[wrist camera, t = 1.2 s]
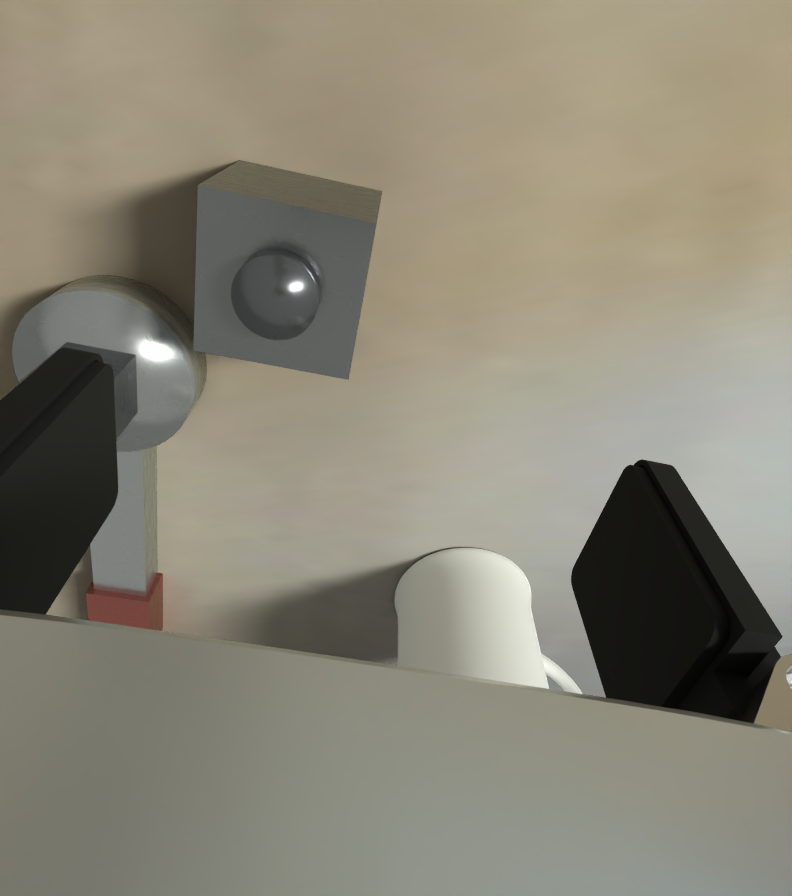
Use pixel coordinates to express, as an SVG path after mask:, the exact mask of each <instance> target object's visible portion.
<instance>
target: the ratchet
mask: <svg viewBox="0 0 792 896" xmlns="http://www.w3.org/2000/svg"><path fill="white" fill-rule="evenodd" d="M193 343H194V326H193V325H192V323H191V322H190V320H189V319H188V318H187V317H186V315H185V314H184V313H183V312H182V311H181V310H180V309H179V308H178V307H177V306H176V305H175V304H174V303H173V302H172V301H171V300H169V299H168V298H167V297H166V296H164V295H163V294H161V293H160V292H158V291H157V290H155V289H153V288H151V287H149V286H147V285H145V284H143V283H140V282H137V281H135V280H132V279H128V278H124V277H119V276H111V275H97V276H89V277H85V278H81V279H78V280H75V281H73V282H71V283H69V284H67V285H66V286H64V287H63V288H61V289H60V290H58V291H57V292H55V293H54V294H52V295H50V296H49V297H47V298H46V299H44V300H43V301H41V302H40V303H38V304H37V305H35V306H34V307H32V308H31V309H30V310H29V311H28V312H27V313H26V314H25V316H24V317H23V318H22V320H21V321H20V323H19V325H18V327H17V329H16V331H15V335H14V339H13V345H12V359H13V365H14V370H15V374H16V376H17V379H18V382H19V384H20V383H21V382H22V381H23V380H25V379H26V378H27V377H28V376H29V375H30V374H32V373H33V372H34V371H35V370H36V369H37V368H38V367H40V366H41V365H42V364H43V363H44V362H45V361H47V360H48V359H49V358H50V357H51V356H52V355H53V354H55V353H56V352H57V351H58V350H59V349H61V348H63V347H65V348H71V349H76V350H81V351H86V352H91V353H97V354H99V355H100V356H101V357H102V359H103V363H104V364H109V365H111V366H112V369H113V374H114V397H115V420H116V444H117V467H118V495H117V499H116V503H115V505H114V507H113V509H112V511H111V512H110V514H109V515H108V517H107V519H106V520H105V522H104V523H103V525H102V526H101V528H100V530H99V531H98V533H97V534H96V536H95V537H94V539H93V541H92V542H91V544H90V549H91V561H92V572H93V582H92V583H91V585H90V587H89V588H88V590H87V592H86V602H87V612H88V621H95V622H103V623H110V624H117V625H124V626H131V627H138V628H145V629H152V630H159V631H162V628H163V574H162V573H158V560H157V445H159V444H161V443H163V442H165V441H166V440H168V439H169V438H170V437H172V436H173V435H174V434H175V433H176V432H177V431H178V430H179V429H180V427H181V426H182V424H183V423H184V421H185V420H186V418H187V417H188V415H189V413H190V412H191V410H192V409H193V407H194V405H195V404H196V402H197V400H198V399H199V397H200V395H201V393H202V391H203V388H204V385H205V381H206V373H207V364H206V356H205V353H204V352H199V351H194V350H193Z"/></svg>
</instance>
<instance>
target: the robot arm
mask: <svg viewBox="0 0 792 896" xmlns="http://www.w3.org/2000/svg"><path fill="white" fill-rule="evenodd" d="M117 495H118V467H117V444H116V420H115V397H114V374H113V369H112V366H111V365H109V364H104V363H103V359H102V357H101V356H100V355H99V354H97V353H91V352H86V351H81V350H76V349H71V348H65V347H63V348H61V349H59V350H58V351H57V352H56V353H55V354H53V355H52V356H51V357H50V358H49V359H48V360H47V361H45V362H44V363H43V364H42V365H41V366H40V367H38V368H37V369H36V370H35V371H34V372H33V373H32V374H30V375H29V376H28V377H27V378H26V379H25V380H23V381H22V382H21V383H20V384H19V385H18V386H17V387H15V388H14V389H13V390H12V391H11V392H10V393H9V394H7V395H6V396H5V397H4V398H3V399H2V400H0V896H792V654H789V655H785V656H782V657H781V656H780V655H779V653H778V652H777V650H776V648H775V647H774V646H775V645H776V644H777V643H778V642H779V640H780V639H781V638H782V635H781V633H780V632H779V630H778V629H777V627H776V626H775V624H774V622H773V621H772V619H771V618H770V616H769V615H768V613H767V611H766V610H765V608H764V607H763V605H762V604H761V602H760V601H759V599H758V597H757V596H756V594H755V593H754V591H753V590H752V588H751V586H750V585H749V583H748V582H747V580H746V579H745V577H744V576H743V574H742V572H741V571H740V569H739V568H738V566H737V565H736V563H735V561H734V560H733V558H732V557H731V555H730V554H729V552H728V551H727V549H726V547H725V546H724V544H723V543H722V541H721V540H720V538H719V536H718V535H717V533H716V532H715V530H714V529H713V527H712V525H711V524H710V522H709V521H708V519H707V518H706V516H705V515H704V513H703V511H702V510H701V508H700V507H699V505H698V504H697V502H696V500H695V499H694V497H693V496H692V494H691V493H690V491H689V490H688V488H687V486H686V485H685V483H684V482H683V480H682V479H681V477H680V475H679V474H678V472H677V471H676V469H675V468H674V467H673V466H671V465H667V464H662V463H657V462H652V461H647V460H639V461H637V462H636V463H635V464H634V466H633V465H629V466H627V467H626V468H625V469H624V470H623V472H622V474H621V476H620V478H619V480H618V482H617V484H616V486H615V487H614V489H613V491H612V493H611V495H610V497H609V499H608V501H607V503H606V505H605V507H604V509H603V511H602V513H601V515H600V517H599V519H598V520H597V522H596V524H595V526H594V528H593V530H592V532H591V534H590V536H589V538H588V540H587V542H586V544H585V546H584V548H583V550H582V552H581V553H580V555H579V557H578V559H577V561H576V563H575V565H574V567H573V570H572V576H571V583H572V588H573V591H574V594H575V598H576V601H577V604H578V607H579V611H580V614H581V617H582V620H583V624H584V627H585V630H586V633H587V637H588V640H589V643H590V646H591V650H592V653H593V656H594V659H595V663H596V666H597V669H598V672H599V676H600V679H601V682H602V685H603V689H604V692H605V695H606V698H604V697H597V696H592V695H585V694H579V693H572V692H566V691H560V690H553V689H547V688H540V687H534V686H528V685H521V684H515V683H508V682H502V681H495V680H489V679H483V678H476V677H470V676H463V675H456V674H450V673H443V672H437V671H430V670H423V669H417V668H410V667H404V666H397V665H390V664H384V663H377V662H370V661H364V660H357V659H350V658H343V657H337V656H330V655H323V654H317V653H310V652H303V651H297V650H290V649H283V648H276V647H269V646H262V645H255V644H249V643H242V642H235V641H228V640H221V639H214V638H207V637H200V636H193V635H186V634H179V633H173V632H166V631H159V630H152V629H145V628H138V627H131V626H124V625H117V624H110V623H103V622H95V621H88V620H81V619H74V618H67V617H59V616H52V615H45V614H46V613H47V611H48V610H49V608H50V606H51V605H52V603H53V602H54V600H55V599H56V597H57V595H58V594H59V592H60V591H61V589H62V588H63V586H64V584H65V583H66V581H67V580H68V578H69V577H70V575H71V573H72V572H73V570H74V569H75V567H76V566H77V564H78V563H79V561H80V559H81V558H82V556H83V555H84V553H85V552H86V550H87V548H88V547H89V545H90V544H91V542H92V541H93V539H94V537H95V536H96V534H97V533H98V531H99V530H100V528H101V526H102V525H103V523H104V522H105V520H106V519H107V517H108V515H109V514H110V512H111V511H112V509H113V507H114V505H115V503H116V499H117Z"/></svg>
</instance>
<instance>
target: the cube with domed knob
mask: <svg viewBox="0 0 792 896" xmlns="http://www.w3.org/2000/svg"><path fill="white" fill-rule="evenodd" d="M381 195H382V191H378V190H373V189H369V188H364V187H359V186H355V185H350V184H346V183H341V182H337V181H332V180H327V179H323V178H318V177H314V176H309V175H305V174H300V173H295V172H291V171H286V170H282V169H277V168H273V167H268V166H263V165H259V164H254V163H250V162H245V161H241V160H239V161H237V162H236V163H234V164H232V165H231V166H229V167H227V168H226V169H224V170H222V171H221V172H219V173H217V174H216V175H214V176H212V177H210V178H209V179H207V180H205V181H204V182H202V183H200V184H199V185H198V193H197V231H196V268H195V306H194V343H193V350H194V351H199V352H204V353H210V354H215V355H220V356H226V357H231V358H236V359H241V360H247V361H252V362H257V363H263V364H268V365H273V366H279V367H284V368H289V369H295V370H300V371H305V372H311V373H316V374H321V375H326V376H332V377H337V378H342V379H349V373H350V368H351V362H352V357H353V351H354V346H355V340H356V335H357V329H358V324H359V318H360V313H361V307H362V301H363V296H364V290H365V285H366V279H367V273H368V268H369V262H370V257H371V251H372V245H373V240H374V234H375V228H376V223H377V217H378V212H379V206H380V200H381Z"/></svg>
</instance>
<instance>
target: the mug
mask: <svg viewBox="0 0 792 896" xmlns="http://www.w3.org/2000/svg"><path fill="white" fill-rule="evenodd" d="M395 608H396V612H397V615H398V666H404V667H410V668H417V669H423V670H430V671H437V672H443V673H450V674H456V675H463V676H470V677H476V678H483V679H489V680H495V681H502V682H508V683H515V684H521V685H528V686H534V687H540V688H547V689H549V686H548V682H547V677H546V674H547V675H548V676H549V677H551V678H552V679H553V680H554V681H555V682H557V683H558V684H559V685H560V686H561V687H562V688H563V689H564V691H566V692H572V693H579V694H583V693H582V692H581V690H580V689H579V688H578V686H577V685H576V684H575V682H574V681H573V680H572V679H571V678H570V677H569V676H568V675H567V674H566V673H565V672H564V671H563V670H562V669H561V668H560V667H559V666H558V665H557V664H555V663H554V662H553V661H552V660H550V659H549V658H547V657H546V656H544V655H543V654H541V651H540V647H539V642H538V638H537V633H536V629H535V625H534V620H533V615H532V610H531V589H530V585H529V582H528V580H527V578H526V576H525V574H524V573H523V572H522V570H521V569H520V568H519V567H518V566H517V565H516V564H515V563H513V562H512V561H511V560H509V559H507V558H506V557H504V556H502V555H500V554H497V553H495V552H492V551H488V550H484V549H478V548H453V549H447V550H443V551H439V552H436V553H433V554H431V555H428V556H426V557H424V558H422V559H421V560H419V561H418V562H416V563H415V564H413V565H412V566H411V567H410V568H409V569H408V570H407V571H406V572H405V573H404V575H403V576H402V577H401V579H400V581H399V583H398V585H397V588H396V591H395Z"/></svg>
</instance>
